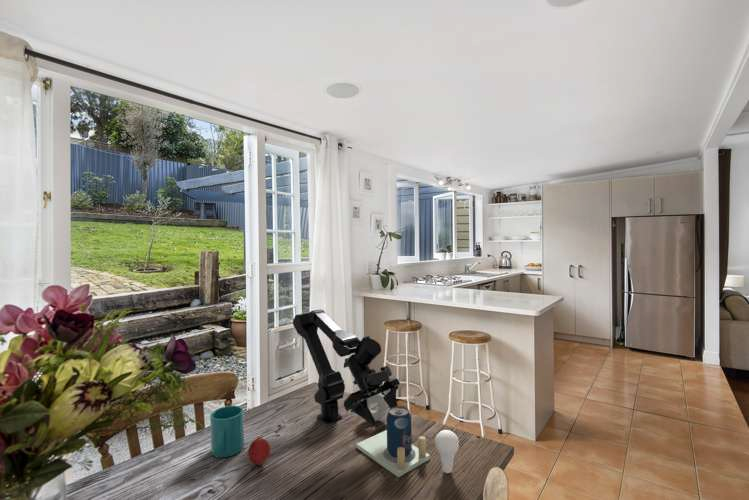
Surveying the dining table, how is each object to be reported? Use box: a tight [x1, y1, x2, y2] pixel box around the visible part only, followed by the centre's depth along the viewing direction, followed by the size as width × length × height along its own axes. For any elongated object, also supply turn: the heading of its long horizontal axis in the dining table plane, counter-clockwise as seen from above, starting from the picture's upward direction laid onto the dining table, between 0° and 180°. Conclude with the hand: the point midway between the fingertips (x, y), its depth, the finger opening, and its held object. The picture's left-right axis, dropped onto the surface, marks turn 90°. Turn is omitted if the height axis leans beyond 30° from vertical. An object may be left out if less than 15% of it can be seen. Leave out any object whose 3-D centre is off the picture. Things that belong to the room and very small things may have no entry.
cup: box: [209, 405, 245, 459], centre depth 108 cm, size 9×12×11 cm
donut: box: [367, 393, 389, 422], centre depth 125 cm, size 10×4×10 cm, turn 93°
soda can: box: [386, 405, 413, 458], centre depth 104 cm, size 7×7×12 cm
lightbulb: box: [434, 429, 460, 474], centre depth 97 cm, size 6×6×11 cm
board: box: [356, 429, 431, 478], centre depth 106 cm, size 18×12×6 cm, turn 39°
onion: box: [247, 435, 271, 466], centre depth 102 cm, size 6×6×8 cm
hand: (386, 420), depth 107 cm, fingers open, 9 cm apart
